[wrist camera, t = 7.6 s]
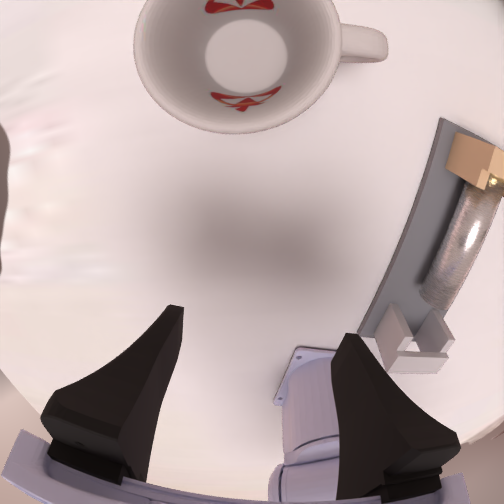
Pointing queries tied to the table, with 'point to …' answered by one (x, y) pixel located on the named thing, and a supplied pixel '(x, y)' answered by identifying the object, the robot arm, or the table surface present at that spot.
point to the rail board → (427, 254)
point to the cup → (245, 58)
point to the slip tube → (461, 242)
